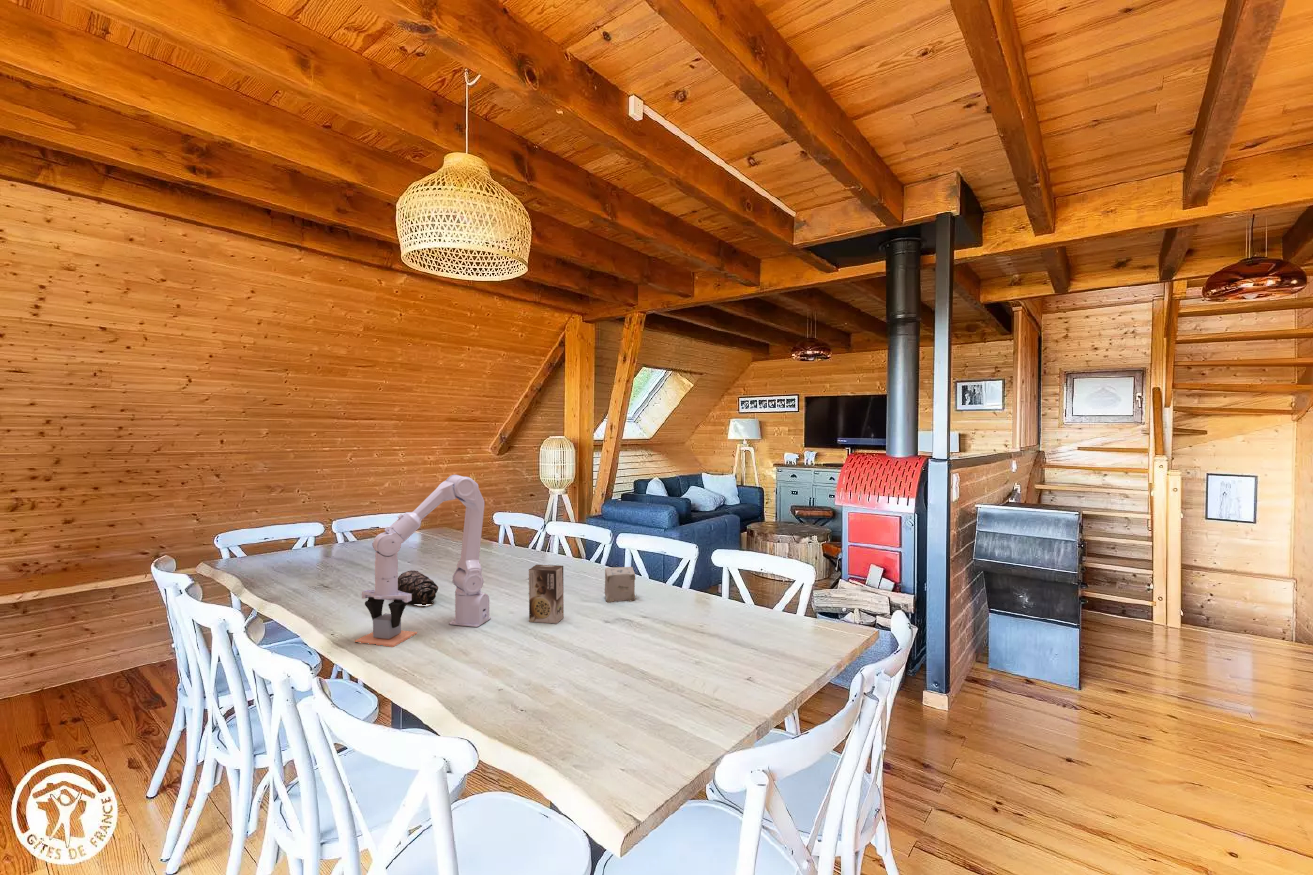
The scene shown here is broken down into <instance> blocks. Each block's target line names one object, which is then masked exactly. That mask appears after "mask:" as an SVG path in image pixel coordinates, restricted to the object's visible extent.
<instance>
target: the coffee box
mask: <svg viewBox="0 0 1313 875" xmlns="http://www.w3.org/2000/svg"><path fill="white" fill-rule="evenodd" d="M528 597H529V598H528V600H529V601H528V608H529V609H528V610H529V611H528V612H529V613H528V615H529V616H528V621H529V623H543V624H545V623H546V624H559V622H560V621H561V620H563V619H564V615H565V614H564V612H565V611H564V601H565V599H564V565H559V564H557V565H556V564H554V565H553V564H535V565H534V566H532V567H531V568H528Z"/></svg>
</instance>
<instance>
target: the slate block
mask: <svg viewBox="0 0 1313 875" xmlns="http://www.w3.org/2000/svg"><path fill="white" fill-rule="evenodd" d="M401 630H402V619H401V620H400V624H399V626H397V627H395V628H392V622H391V613H382V615H381V616H379V617H377V618H374V619H373V620H372V632H373V637H375V638H385V639H390V638H392V637H393V636H395V635H397V634H399V633H401Z"/></svg>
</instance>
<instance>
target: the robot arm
mask: <svg viewBox="0 0 1313 875" xmlns="http://www.w3.org/2000/svg"><path fill="white" fill-rule="evenodd" d="M479 486H480V485H479V484H478V482H476V481H475V480H474V479H473V478H471V477H469V476H462V475H459V474H451V475H449V477H447V478H446V480H444V481H442V482H441V483H440V484H438V486H437V487H436V488H435V489H434V490H433V491H432V492H431V493H430V494H429V495H428V496H427V497H426V498H425V499H424V500H423V501H421V503H420V504H419V505H418V506H417V507H416V508H415V509H414V510H413V511H409V512H408V511H406V512H404V513H400V514H399V515H398V516H397V518H398V519H396V521H395V522H393V523H392V524H391V525H390V526H389V527H385V528H384V532H381V533H379V534H377V535H376V536H375V538H374V539H373V542H372V544H371V546H372V548H373V550H374V551H375V560H374V581H375V582H374V589H365V590H363V591H361V599H363V600H365V599H367V600H365V602H364V606H365V607H366V608H367V610H368V612H369V614H370V616H371V619H372V621H373V619H374V618H377V617H379V616H381V615H383V607H384V602H385V601H386V600H387V601H391V602H389V603H388V604H387V605H388V608H389V610H390V614H391V622H392V628H395V627H397V626H399V624H400V620H401V621H402V616H403V614H404V610H405V608H406V606H407V605H408V604H407V603H408V602H409V601H411V600H412V594H410V593H405V592H402V591H398V577H399V568H398V567H399V561H398V552H399V551H400V549H401V546H402V544H403V543H404V542H405V541H406V540H407V539H409V538H410V537H411V536H412V535H413V534H414V533H415V532H416V531H417V530H418V529H420V528H421V525H422V520H423V519H425V517H427V515H429V514H430V513H432V512H433V510H435V509H436V508H438V507H439V506H440V505H441V504H443V502H446V501H453V500H457V499H458V501H459V502H461V503H462V504H463V506H465V512H464V524H463V531H462V532H463V533H462V534H463V535H462V540H461V541H462V543H461V544H462V545H461V552H460V559H459V560H458V562H457V565H456V569H455V571H454V572H453V575H452V582H453V585H454V587H456V588H455V592H454V593H455V594H454V596H455V597H454V601H455V602H454V605H455V606H454V617H455V618H454V619H453V620H451V621H450V622H448V625H452V626H461V627H462V626H463V627H475V628H477V627H480V626H482V625H483V624H485V623H486V622H488V621H490V619H491V616H490V596H489V595H488V594H487V593H484V592H483V591H482V589H483V587H484V582H485V581H484V577H483V574H482V572H483V571H482V570H483V569H482V565H481V563H480V554H481V553H480V552H481V551H480V550H481V543H482V532H483V522H484V513H485V499H484V498H483V495H482V493H481V491H480V488H479Z"/></svg>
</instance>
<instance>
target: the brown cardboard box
mask: <svg viewBox="0 0 1313 875" xmlns="http://www.w3.org/2000/svg"><path fill="white" fill-rule="evenodd" d="M635 580H636V573H635V571H634V567H633V566H621V567H620V566H619V567H616V566H615V567H609V566H608V567H605V569H604V596H605V602H606V603H612V602H621V601H629V602H630V601H634V600H636V597H635V596H636V595H635V594H636V592H635V586H636V585H635Z"/></svg>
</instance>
